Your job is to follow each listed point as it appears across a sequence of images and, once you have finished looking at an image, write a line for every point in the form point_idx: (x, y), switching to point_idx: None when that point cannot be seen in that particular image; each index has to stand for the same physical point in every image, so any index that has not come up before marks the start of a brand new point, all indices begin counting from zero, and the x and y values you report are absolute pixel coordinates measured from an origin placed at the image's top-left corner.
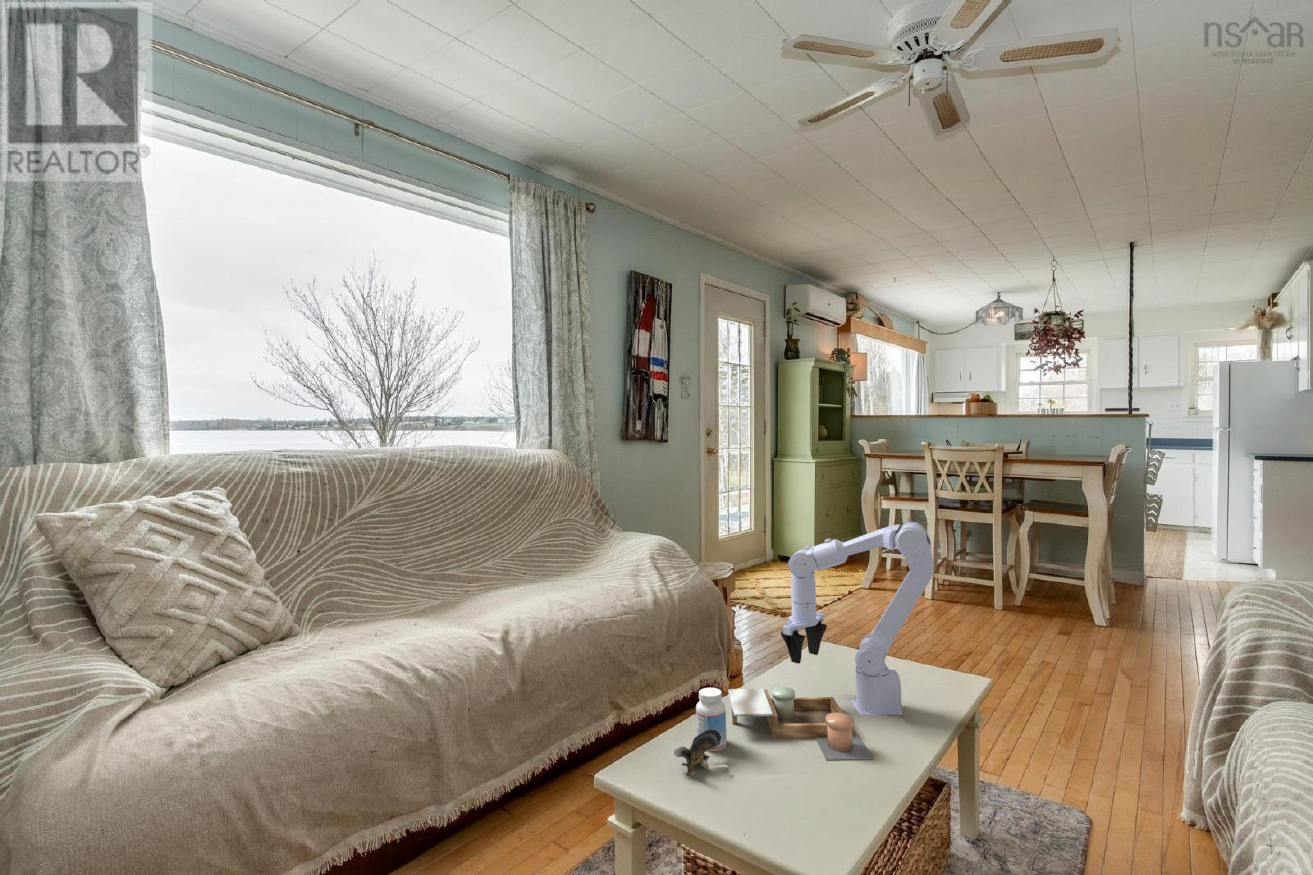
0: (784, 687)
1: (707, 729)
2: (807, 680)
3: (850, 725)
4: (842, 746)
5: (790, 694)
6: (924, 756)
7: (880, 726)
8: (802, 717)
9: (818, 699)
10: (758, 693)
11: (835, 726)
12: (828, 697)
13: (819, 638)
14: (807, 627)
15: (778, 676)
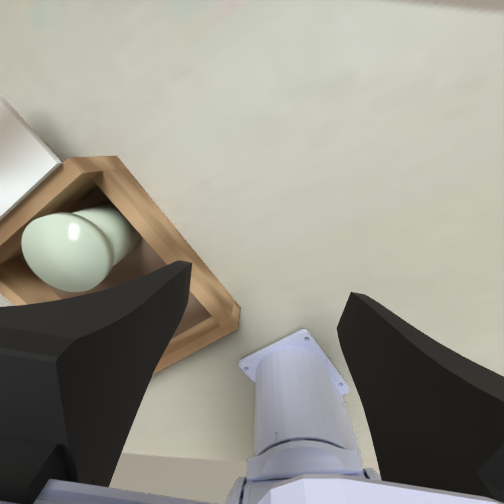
0: (95, 246)
1: None
2: (420, 178)
3: None
4: None
5: (61, 285)
6: (159, 450)
7: (220, 392)
8: (140, 271)
9: (201, 302)
10: (6, 168)
11: None
12: (227, 320)
13: (371, 433)
14: (470, 434)
15: (428, 56)
